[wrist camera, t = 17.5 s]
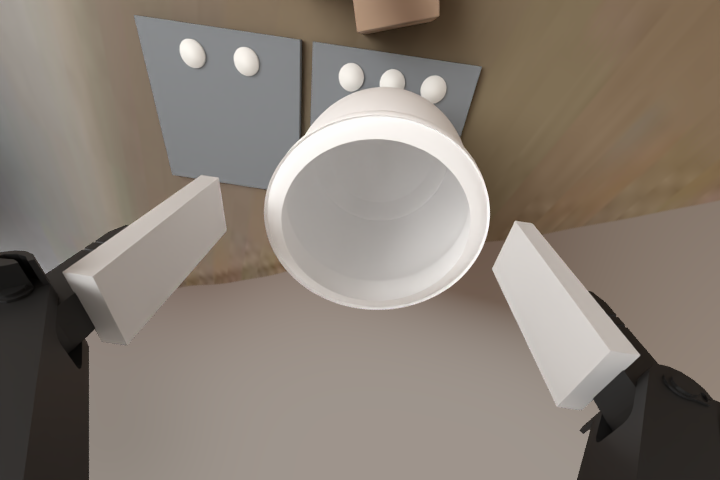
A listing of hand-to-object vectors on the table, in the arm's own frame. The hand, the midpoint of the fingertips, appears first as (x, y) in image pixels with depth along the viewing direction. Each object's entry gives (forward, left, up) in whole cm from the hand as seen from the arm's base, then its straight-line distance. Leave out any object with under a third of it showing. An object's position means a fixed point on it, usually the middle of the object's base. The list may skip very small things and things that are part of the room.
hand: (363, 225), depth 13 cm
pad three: (0, 0, -16) cm, 16 cm away
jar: (0, 0, -15) cm, 15 cm away
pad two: (-14, 0, -16) cm, 21 cm away
